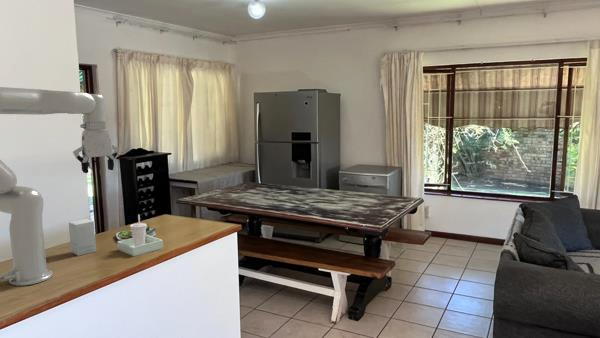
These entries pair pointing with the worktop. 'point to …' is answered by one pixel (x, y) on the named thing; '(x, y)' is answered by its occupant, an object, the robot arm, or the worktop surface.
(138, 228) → the smoothie
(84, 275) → the worktop surface
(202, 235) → the worktop surface
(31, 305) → the worktop surface
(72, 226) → the supplement box
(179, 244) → the worktop surface
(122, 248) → the bin
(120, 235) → the avocado toast plate
